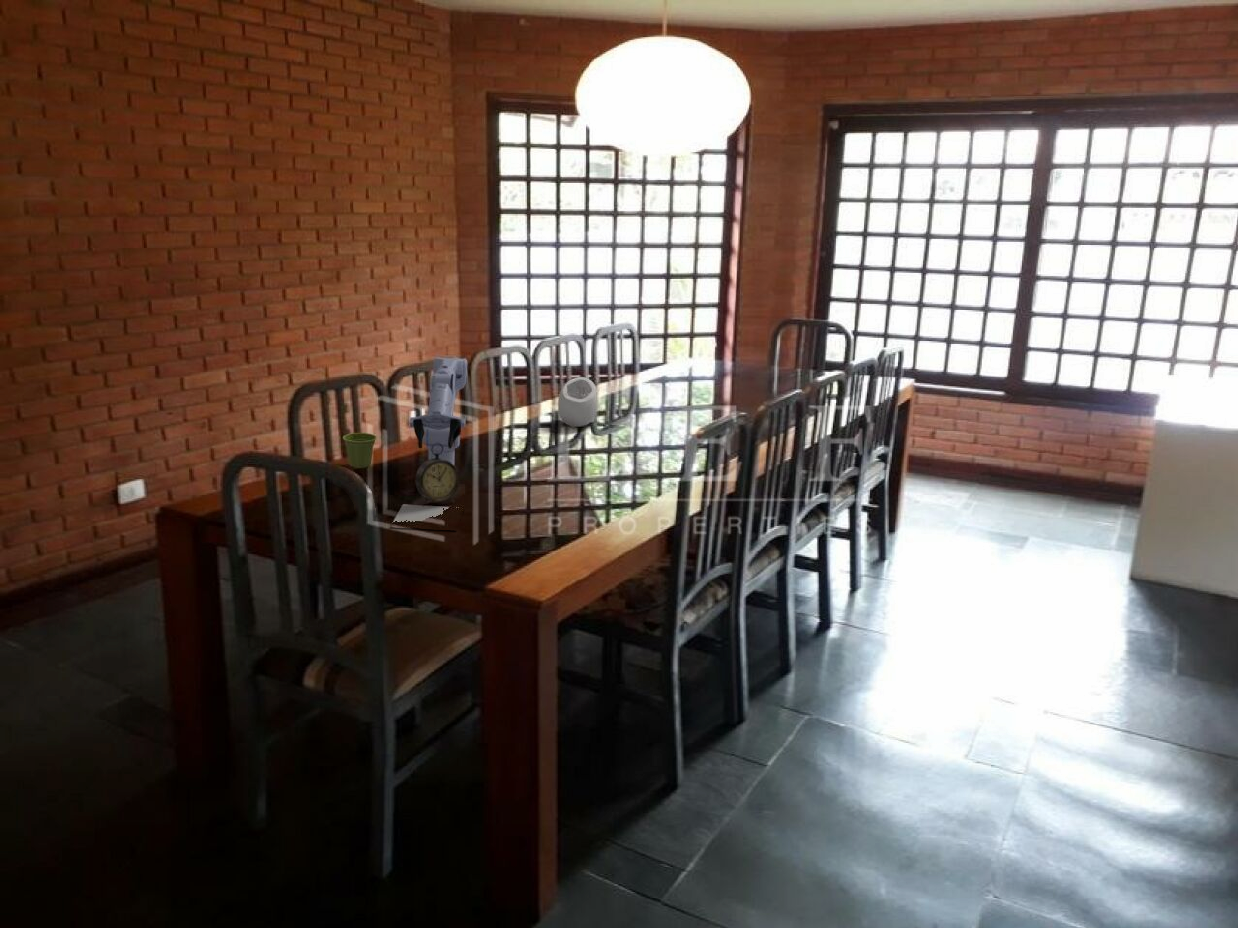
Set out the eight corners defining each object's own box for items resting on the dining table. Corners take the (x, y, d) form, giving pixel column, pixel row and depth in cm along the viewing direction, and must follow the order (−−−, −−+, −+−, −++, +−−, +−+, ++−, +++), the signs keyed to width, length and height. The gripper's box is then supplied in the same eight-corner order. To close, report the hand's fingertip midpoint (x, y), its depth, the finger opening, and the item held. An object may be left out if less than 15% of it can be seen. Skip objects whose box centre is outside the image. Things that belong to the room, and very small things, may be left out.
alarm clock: (420, 507, 244) (422, 445, 241) (412, 502, 248) (413, 441, 245) (459, 504, 250) (461, 443, 247) (450, 499, 254) (452, 440, 251)
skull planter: (604, 412, 352) (602, 372, 339) (593, 448, 338) (590, 408, 325) (568, 408, 354) (565, 368, 341) (555, 444, 340) (551, 403, 327)
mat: (403, 506, 246) (403, 504, 246) (465, 509, 247) (465, 507, 247) (390, 527, 231) (390, 526, 231) (456, 531, 231) (456, 529, 231)
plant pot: (341, 470, 271) (341, 441, 268) (344, 460, 280) (344, 432, 277) (375, 470, 273) (375, 441, 270) (377, 461, 282) (377, 433, 279)
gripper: (410, 397, 252) (404, 435, 244) (465, 398, 253) (461, 435, 244) (413, 415, 258) (408, 453, 249) (467, 416, 259) (463, 453, 250)
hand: (434, 445), depth 247 cm, fingers open, 7 cm apart
